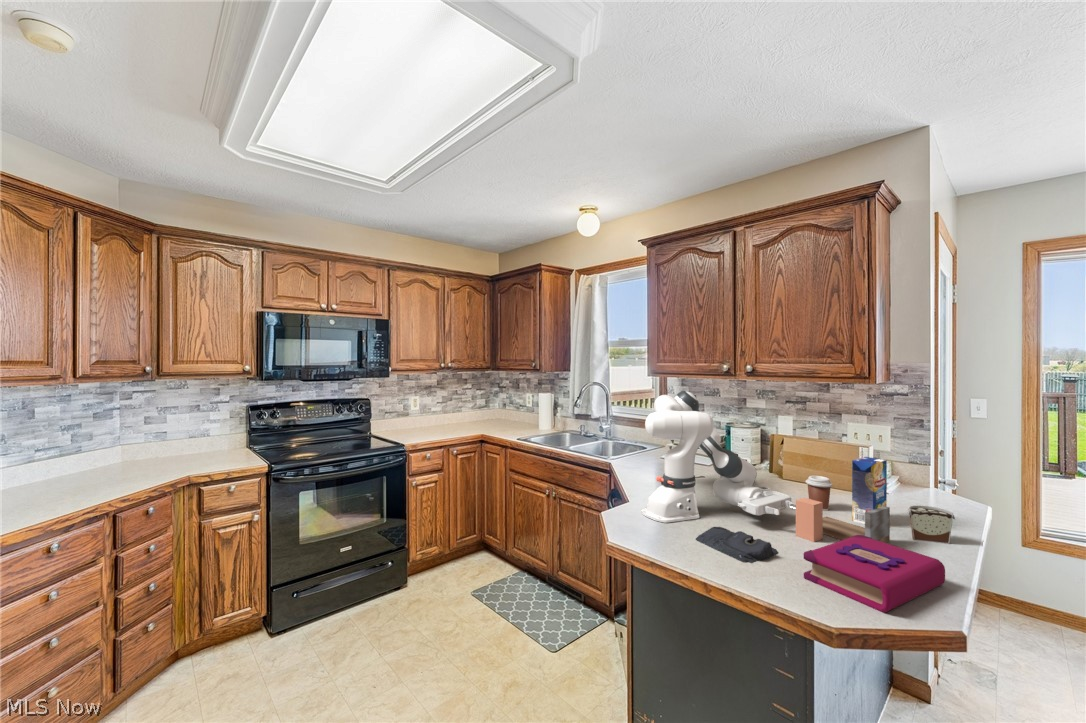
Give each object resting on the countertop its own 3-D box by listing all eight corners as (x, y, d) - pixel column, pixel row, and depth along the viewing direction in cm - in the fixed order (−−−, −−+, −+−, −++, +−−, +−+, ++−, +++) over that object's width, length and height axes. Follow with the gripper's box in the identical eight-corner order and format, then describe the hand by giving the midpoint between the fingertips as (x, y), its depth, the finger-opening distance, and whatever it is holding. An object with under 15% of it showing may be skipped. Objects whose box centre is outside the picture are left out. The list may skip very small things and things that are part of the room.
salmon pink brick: (813, 542, 149) (813, 505, 149) (795, 535, 154) (795, 500, 154) (822, 538, 151) (822, 502, 151) (804, 532, 157) (804, 497, 156)
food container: (945, 537, 152) (945, 507, 152) (955, 544, 146) (955, 513, 146) (900, 532, 156) (900, 503, 156) (908, 539, 150) (908, 509, 150)
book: (945, 588, 120) (945, 559, 120) (888, 617, 107) (888, 584, 107) (858, 557, 139) (858, 532, 138) (801, 578, 125) (801, 550, 125)
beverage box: (886, 520, 168) (886, 459, 168) (873, 526, 162) (873, 464, 161) (865, 514, 174) (865, 456, 173) (852, 520, 167) (852, 460, 167)
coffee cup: (832, 513, 175) (832, 482, 175) (805, 509, 180) (805, 478, 180) (832, 506, 183) (832, 476, 183) (806, 503, 188) (806, 473, 188)
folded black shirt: (723, 531, 159) (723, 518, 159) (782, 555, 140) (782, 540, 140) (691, 540, 152) (691, 526, 152) (749, 567, 133) (749, 550, 133)
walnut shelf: (870, 549, 143) (870, 513, 143) (806, 528, 161) (806, 496, 160) (889, 541, 149) (889, 507, 149) (826, 522, 166) (826, 491, 166)
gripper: (734, 495, 166) (769, 506, 154) (769, 486, 176) (805, 496, 164) (734, 512, 166) (769, 524, 154) (769, 502, 176) (805, 513, 164)
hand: (788, 510), depth 159 cm, fingers open, 8 cm apart
